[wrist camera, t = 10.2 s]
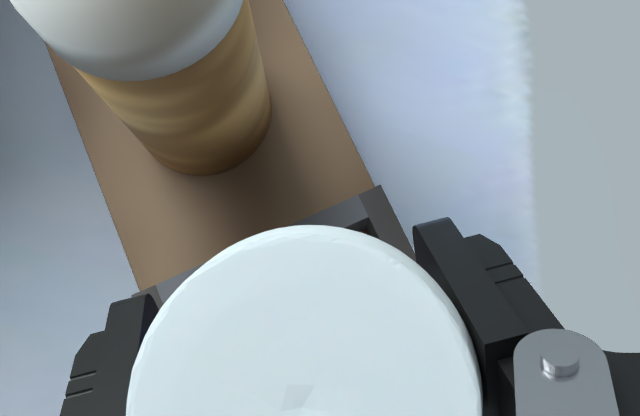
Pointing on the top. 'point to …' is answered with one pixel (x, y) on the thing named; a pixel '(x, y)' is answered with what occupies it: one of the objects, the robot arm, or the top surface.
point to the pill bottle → (307, 335)
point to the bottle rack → (205, 128)
